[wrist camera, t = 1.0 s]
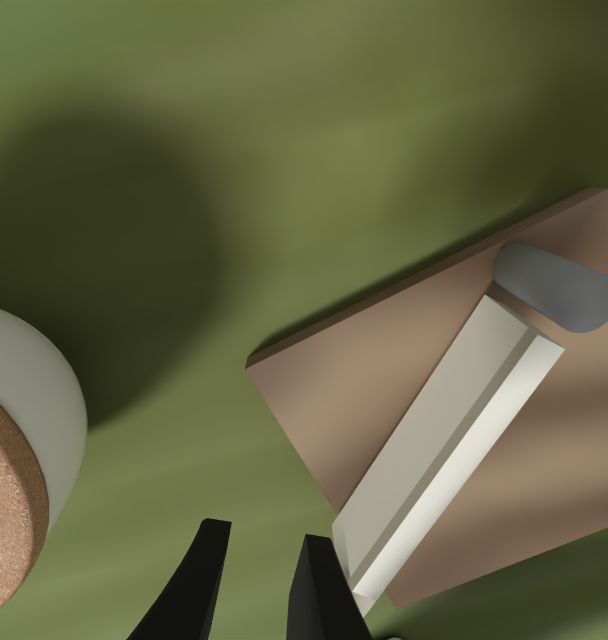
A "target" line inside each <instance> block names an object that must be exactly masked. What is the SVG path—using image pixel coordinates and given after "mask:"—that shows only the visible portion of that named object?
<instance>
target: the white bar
mask: <svg viewBox="0 0 608 640" xmlns="http://www.w3.org/2000/svg"><path fill="white" fill-rule="evenodd" d="M492 274H493V278H494V280H495V282H496V283H497V284H498V285H499V286H500V287H501V288H503V289H504V290H506V291H507V292H509V293H510V294H512V295H514V296H515V297H517V298H518V299H520V300H521V301H523V302H524V303H526V304H527V305H529V306H530V307H532V308H533V309H535V310H536V311H538V312H539V313H541V314H542V315H544V316H545V317H547V318H548V319H550V320H551V321H553V322H554V323H556V324H557V325H559V326H560V327H562V328H563V329H565V330H567V331H569V332H573V333H587V332H591V331H593V330H596V329H598V328H599V327H601V326H602V325H604V324H605V323H606V322H607V321H608V276H607V275H606V274H603V273H601V272H598V271H596V270H593V269H591V268H588V267H586V266H583V265H581V264H578V263H576V262H573V261H570V260H568V259H565V258H563V257H560V256H558V255H555V254H553V253H550V252H548V251H545V250H543V249H540V248H537V247H535V246H532V245H530V244H527V243H514V244H511V245H509V246H507V247H505V248H504V249H502V250H501V251H500V252H499V253H498V255H497V256H496V258H495V260H494V262H493V266H492ZM564 350H565V348H563V347H562V346H561V345H559V344H558V343H556V342H555V341H554V340H552V339H551V338H550V337H548V336H547V335H546V334H544V333H543V332H541V331H540V330H539V329H537V328H536V327H535V326H533V325H532V324H531V323H529V322H528V321H526V320H525V319H524V318H522V317H521V316H520V315H518V314H517V313H516V312H514V311H513V310H511V309H510V308H509V307H507V306H506V305H504V304H502V303H500V302H498V301H496V300H494V299H492V298H490V297H488V296H487V295H484V297H483V298H482V300H481V301H480V303H479V304H478V306H477V307H476V309H475V310H474V312H473V313H472V315H471V316H470V318H469V319H468V321H467V322H466V324H465V325H464V327H463V328H462V330H461V331H460V333H459V334H458V336H457V337H456V339H455V340H454V342H453V343H452V345H451V346H450V348H449V349H448V351H447V352H446V354H445V355H444V357H443V358H442V360H441V361H440V363H439V364H438V366H437V367H436V369H435V370H434V372H433V373H432V375H431V376H430V378H429V379H428V381H427V382H426V384H425V386H424V387H423V389H422V390H421V392H420V393H419V395H418V396H417V398H416V399H415V401H414V402H413V404H412V405H411V407H410V408H409V410H408V411H407V413H406V414H405V416H404V417H403V419H402V420H401V422H400V423H399V425H398V426H397V428H396V429H395V431H394V432H393V434H392V435H391V437H390V438H389V440H388V441H387V443H386V444H385V446H384V447H383V449H382V450H381V452H380V453H379V455H378V456H377V458H376V459H375V461H374V462H373V464H372V465H371V467H370V468H369V470H368V471H367V473H366V474H365V476H364V477H363V479H362V480H361V482H360V483H359V485H358V486H357V488H356V490H355V491H354V493H353V494H352V496H351V497H350V499H349V500H348V502H347V503H346V505H345V506H344V508H343V509H342V511H341V512H340V514H339V515H338V517H337V518H336V520H335V521H334V523H333V524H332V526H331V529H332V540H333V545H334V548H335V551H336V553H337V556H338V559H339V562H340V565H341V567H342V570H343V572H344V575H345V577H346V580H347V582H348V585H349V587H350V590H351V592H352V594H353V597H354V599H355V601H356V604H357V606H358V608H359V610H360V612H361V614H362V617H363V618H364V616H365V615H366V614H367V612H368V611H369V610H370V608H371V607H372V606H373V604H374V603H375V602H376V600H377V599H378V598H379V596H380V595H381V594H382V592H383V591H384V590H385V588H386V587H387V586H388V584H389V583H390V582H391V580H392V579H393V578H394V576H395V575H396V574H397V572H398V571H399V570H400V568H401V567H402V566H403V564H404V563H405V562H406V560H407V559H408V558H409V556H410V555H411V554H412V552H413V551H414V550H415V548H416V547H417V546H418V544H419V543H420V542H421V540H422V539H423V538H424V536H425V535H426V534H427V532H428V531H429V530H430V528H431V527H432V526H433V525H434V523H435V522H436V521H437V519H438V518H439V517H440V515H441V514H442V513H443V511H444V510H445V509H446V507H447V506H448V505H449V503H450V502H451V501H452V499H453V498H454V497H455V495H456V494H457V493H458V491H459V490H460V489H461V487H462V486H463V485H464V483H465V482H466V481H467V479H468V478H469V477H470V475H471V474H472V473H473V471H474V470H475V469H476V467H477V466H478V465H479V463H480V462H481V461H482V459H483V458H484V457H485V455H486V454H487V453H488V451H489V450H490V449H491V447H492V446H493V445H494V443H495V442H496V441H497V439H498V438H499V437H500V435H501V434H502V433H503V431H504V430H505V429H506V427H507V426H508V425H509V423H510V422H511V421H512V419H513V418H514V417H515V416H516V414H517V413H518V412H519V410H520V409H521V408H522V406H523V405H524V404H525V402H526V401H527V400H528V398H529V397H530V396H531V394H532V393H533V392H534V390H535V389H536V388H537V386H538V385H539V384H540V382H541V381H542V380H543V378H544V377H545V376H546V374H547V373H548V372H549V370H550V369H551V368H552V366H553V365H554V364H555V362H556V361H557V360H558V358H559V357H560V356H561V354H562V353H563V352H564Z"/></svg>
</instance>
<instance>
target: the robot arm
mask: <svg viewBox="0 0 608 640" xmlns="http://www.w3.org/2000/svg"><path fill="white" fill-rule="evenodd" d="M231 523H232V522H228V521H222V520H216V519H209V518H207V519H205V520H203V521H202V522H201V525H200V527H199V530H198V532H197V534H196V536H195V538H194V540H193V542H192V544H191V546H190V548H189V550H188V551H187V553H186V555H185V557H184V558H183V560H182V562H181V564H180V565H179V567H178V568H177V570H176V571H175V573H174V574H173V576H172V577H171V579H170V581H169V582H168V584H167V585H166V587H165V588H164V590H163V591H162V593H161V594H160V596H159V597H158V598H157V600H156V601H155V602H154V604H153V605H152V606H151V608H150V609H149V611H148V612H147V613H146V615H145V616H144V617H143V619H142V620H141V621H140V623H139V624H138V625H137V627H136V628H135V629H134V631H133V632H132V633H131V634H130V636H129V637H128V638H127V639H126V640H208V637H209V633H210V630H211V625H212V620H213V615H214V610H215V605H216V600H217V595H218V590H219V586H220V581H221V576H222V571H223V566H224V561H225V556H226V551H227V546H228V541H229V535H230V529H231ZM286 640H373V638H372V636H371V634H370V632H369V630H368V628H367V625H366V623H365V621H364V619H363V617H362V614H361V612H360V610H359V608H358V606H357V604H356V601H355V599H354V597H353V594H352V592H351V590H350V587H349V585H348V582H347V580H346V577H345V575H344V572H343V570H342V567H341V565H340V562H339V559H338V556H337V553H336V551H335V548H334V545H333V542H332V540H331V539H330V538H328V537H322V536H316V535H309V534H306V535H305V538H304V542H303V546H302V549H301V553H300V557H299V560H298V564H297V568H296V571H295V575H294V579H293V582H292V586H291V590H290V593H289V605H288V619H287V635H286ZM388 640H401V639H399V638H390V639H388Z"/></svg>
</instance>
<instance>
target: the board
mask: <svg viewBox="0 0 608 640" xmlns="http://www.w3.org/2000/svg"><path fill="white" fill-rule="evenodd" d="M514 243H527V244H530V245H532V246H535V247H537V248H540V249H543V250H545V251H548V252H550V253H553V254H555V255H558V256H560V257H563V258H565V259H568V260H570V261H573V262H576V263H578V264H581V265H583V266H586V267H588V268H591V269H593V270H596V271H598V272H601V273H603V274H606V275H607V276H608V188H601V187H593V186H589V187H587V188H585V189H583V190H581V191H579V192H577V193H575V194H573V195H571V196H569V197H567V198H565V199H563V200H561V201H559V202H557V203H555V204H553V205H551V206H549V207H547V208H545V209H543V210H541V211H539V212H537V213H535V214H533V215H531V216H529V217H527V218H525V219H523V220H521V221H519V222H517V223H515V224H513V225H511V226H509V227H507V228H505V229H503V230H501V231H499V232H497V233H495V234H493V235H491V236H489V237H487V238H485V239H483V240H481V241H479V242H477V243H475V244H473V245H471V246H469V247H467V248H465V249H463V250H461V251H459V252H457V253H455V254H453V255H451V256H449V257H447V258H445V259H443V260H441V261H439V262H437V263H435V264H433V265H431V266H429V267H427V268H425V269H423V270H421V271H419V272H417V273H415V274H413V275H411V276H409V277H407V278H405V279H403V280H401V281H399V282H397V283H395V284H393V285H391V286H389V287H387V288H385V289H383V290H381V291H379V292H377V293H375V294H373V295H371V296H369V297H367V298H365V299H363V300H361V301H359V302H357V303H355V304H353V305H351V306H349V307H347V308H345V309H343V310H341V311H339V312H337V313H335V314H333V315H331V316H329V317H327V318H325V319H323V320H321V321H319V322H317V323H315V324H313V325H311V326H309V327H307V328H305V329H303V330H301V331H299V332H297V333H295V334H293V335H291V336H289V337H287V338H285V339H283V340H281V341H279V342H277V343H275V344H273V345H271V346H269V347H267V348H265V349H263V350H261V351H259V352H257V353H255V354H253V355H251V356H249V357H248V359H247V363H246V367H245V370H246V372H247V373H248V375H249V376H250V378H251V380H252V381H253V383H254V384H255V386H256V387H257V389H258V391H259V392H260V394H261V395H262V397H263V399H264V400H265V402H266V403H267V405H268V406H269V408H270V410H271V411H272V413H273V414H274V416H275V417H276V419H277V421H278V422H279V424H280V425H281V427H282V429H283V430H284V432H285V433H286V435H287V436H288V438H289V440H290V441H291V443H292V444H293V446H294V447H295V449H296V451H297V452H298V454H299V455H300V457H301V459H302V460H303V462H304V463H305V465H306V466H307V468H308V470H309V471H310V473H311V474H312V476H313V477H314V479H315V481H316V482H317V484H318V485H319V487H320V489H321V490H322V492H323V493H324V495H325V496H326V498H327V500H328V501H329V503H330V504H331V506H332V507H333V509H334V511H335V512H336V514H337V515H339V514H340V512H341V511H342V509H343V508H344V506H345V505H346V503H347V502H348V500H349V499H350V497H351V496H352V494H353V493H354V491H355V490H356V488H357V486H358V485H359V483H360V482H361V480H362V479H363V477H364V476H365V474H366V473H367V471H368V470H369V468H370V467H371V465H372V464H373V462H374V461H375V459H376V458H377V456H378V455H379V453H380V452H381V450H382V449H383V447H384V446H385V444H386V443H387V441H388V440H389V438H390V437H391V435H392V434H393V432H394V431H395V429H396V428H397V426H398V425H399V423H400V422H401V420H402V419H403V417H404V416H405V414H406V413H407V411H408V410H409V408H410V407H411V405H412V404H413V402H414V401H415V399H416V398H417V396H418V395H419V393H420V392H421V390H422V389H423V387H424V386H425V384H426V382H427V381H428V379H429V378H430V376H431V375H432V373H433V372H434V370H435V369H436V367H437V366H438V364H439V363H440V361H441V360H442V358H443V357H444V355H445V354H446V352H447V351H448V349H449V348H450V346H451V345H452V343H453V342H454V340H455V339H456V337H457V336H458V334H459V333H460V331H461V330H462V328H463V327H464V325H465V324H466V322H467V321H468V319H469V318H470V316H471V315H472V313H473V312H474V310H475V309H476V307H477V306H478V304H479V303H480V301H481V300H482V298H483V297H484V295H487V296H488V297H490V298H492V299H494V300H496V301H498V302H500V303H502V304H504V305H506V306H507V307H509V308H510V309H511V310H513V311H514V312H516V313H517V314H518V315H520V316H521V317H522V318H524V319H525V320H526V321H528V322H529V323H531V324H532V325H533V326H535V327H536V328H537V329H539V330H540V331H541V332H543V333H544V334H546V335H547V336H548V337H550V338H551V339H552V340H554V341H555V342H556V343H558V344H559V345H561V346H562V347H563V348H565V350H564V352H563V353H562V354H561V356H560V357H559V358H558V360H557V361H556V362H555V364H554V365H553V366H552V368H551V369H550V370H549V372H548V373H547V374H546V376H545V377H544V378H543V380H542V381H541V382H540V384H539V385H538V386H537V388H536V389H535V390H534V392H533V393H532V394H531V396H530V397H529V398H528V400H527V401H526V402H525V404H524V405H523V406H522V408H521V409H520V410H519V412H518V413H517V414H516V416H515V417H514V418H513V419H512V421H511V422H510V423H509V425H508V426H507V427H506V429H505V430H504V431H503V433H502V434H501V435H500V437H499V438H498V439H497V441H496V442H495V443H494V445H493V446H492V447H491V449H490V450H489V451H488V453H487V454H486V455H485V457H484V458H483V459H482V461H481V462H480V463H479V465H478V466H477V467H476V469H475V470H474V471H473V473H472V474H471V475H470V477H469V478H468V479H467V481H466V482H465V483H464V485H463V486H462V487H461V489H460V490H459V491H458V493H457V494H456V495H455V497H454V498H453V499H452V501H451V502H450V503H449V505H448V506H447V507H446V509H445V510H444V511H443V513H442V514H441V515H440V517H439V518H438V519H437V521H436V522H435V523H434V525H433V526H432V527H431V528H430V530H429V531H428V532H427V534H426V535H425V536H424V538H423V539H422V540H421V542H420V543H419V544H418V546H417V547H416V548H415V550H414V551H413V552H412V554H411V555H410V556H409V558H408V559H407V560H406V562H405V563H404V564H403V566H402V567H401V568H400V570H399V571H398V572H397V574H396V575H395V576H394V578H393V579H392V580H391V582H390V583H389V584H388V586H387V587H386V588H385V591H386V593H387V594H388V596H389V597H390V599H391V601H392V602H393V604H394V605H395V607H396V609H399V608H401V607H404V606H406V605H409V604H412V603H414V602H417V601H419V600H422V599H424V598H427V597H430V596H432V595H435V594H437V593H440V592H442V591H445V590H448V589H450V588H453V587H455V586H458V585H461V584H463V583H466V582H468V581H471V580H473V579H476V578H479V577H481V576H484V575H486V574H489V573H492V572H494V571H497V570H499V569H502V568H504V567H507V566H510V565H512V564H515V563H517V562H520V561H522V560H525V559H528V558H530V557H533V556H535V555H538V554H541V553H543V552H546V551H548V550H551V549H553V548H556V547H559V546H561V545H564V544H566V543H569V542H572V541H574V540H577V539H579V538H582V537H584V536H587V535H590V534H592V533H595V532H597V531H600V530H603V529H605V528H608V321H607V322H606V323H605V324H604V325H602V326H601V327H599V328H598V329H596V330H593V331H591V332H587V333H573V332H569V331H567V330H565V329H563V328H562V327H560V326H559V325H557V324H556V323H554V322H553V321H551V320H550V319H548V318H547V317H545V316H544V315H542V314H541V313H539V312H538V311H536V310H535V309H533V308H532V307H530V306H529V305H527V304H526V303H524V302H523V301H521V300H520V299H518V298H517V297H515V296H514V295H512V294H510V293H509V292H507V291H506V290H504V289H503V288H501V287H500V286H499V285H498V284H497V283H496V282H495V280H494V278H493V274H492V266H493V262H494V260H495V258H496V256H497V255H498V253H499V252H500V251H501V250H502V249H504V248H505V247H507V246H509V245H511V244H514Z"/></svg>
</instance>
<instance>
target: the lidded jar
mask: <svg viewBox="0 0 608 640" xmlns="http://www.w3.org/2000/svg"><path fill="white" fill-rule="evenodd" d="M87 420H88V418H87V411H86V404H85V400H84V397H83V394H82V391H81V388H80V385H79V382H78V379H77V377H76V375H75V374H74V372H73V370H72V368H71V366H70V364H69V363H68V362H67V360H66V359H65V357H64V356H63V355H62V353H61V352H60V351H59V350H58V349H57V348H56V346H55V345H54V344H53V343H52V342H51V341H50V340H49V339H48V338H47V337H45V336H44V335H43V334H42V333H41V332H39V331H38V330H37V329H36V328H34V327H33V326H31V325H30V324H28V323H26V322H25V321H23V320H22V319H20V318H18V317H17V316H14V315H12V314H10V313H8V312H6V311H3V310H1V309H0V608H1V607H2V606H3V605H4V604H5V603H6V602H8V601H9V600H10V599H11V598H12V596H13V595H14V594H15V592H16V591H17V590H18V589H19V587H20V586H21V585H22V583H23V582H24V580H25V579H26V577H27V576H28V574H29V573H30V571H31V570H32V568H33V566H34V564H35V562H36V560H37V558H38V556H39V554H40V552H41V550H42V547H43V545H44V543H45V541H46V539H47V538H48V536H49V535H50V533H51V531H52V530H53V528H54V526H55V525H56V523H57V521H58V520H59V518H60V516H61V514H62V512H63V510H64V508H65V506H66V504H67V502H68V499H69V497H70V495H71V493H72V491H73V488H74V486H75V484H76V482H77V479H78V476H79V473H80V470H81V466H82V463H83V459H84V455H85V450H86V444H87Z"/></svg>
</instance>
